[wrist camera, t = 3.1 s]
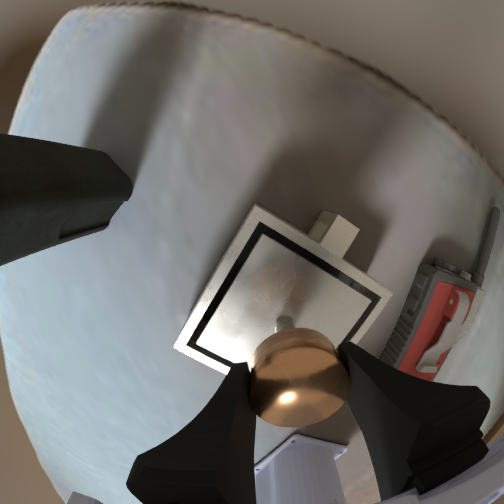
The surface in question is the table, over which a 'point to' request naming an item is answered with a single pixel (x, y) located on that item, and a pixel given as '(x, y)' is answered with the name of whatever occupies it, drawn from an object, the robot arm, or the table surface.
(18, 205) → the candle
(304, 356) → the square lid with knob
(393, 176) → the table surface
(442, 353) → the walkie-talkie
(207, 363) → the square tray with tab
